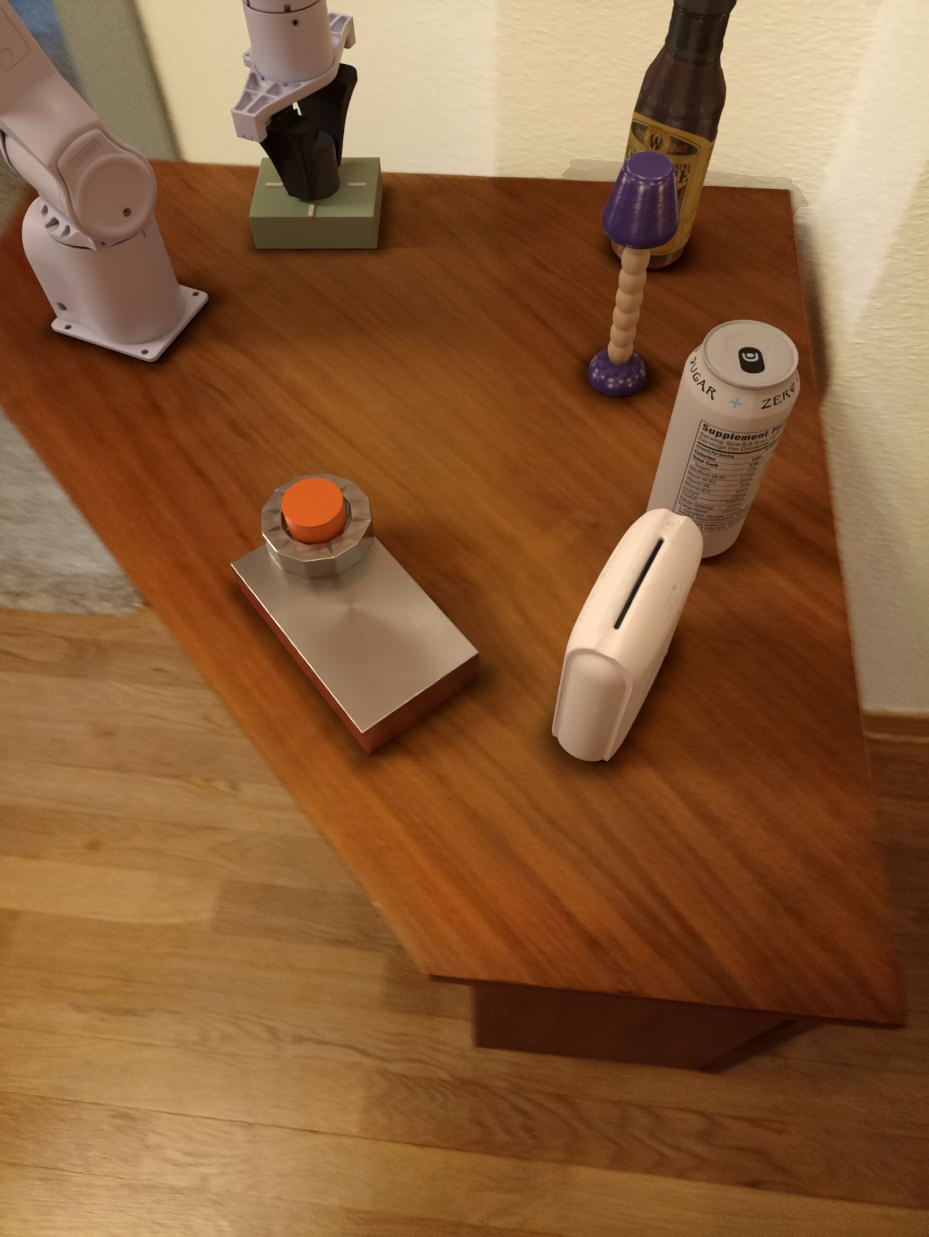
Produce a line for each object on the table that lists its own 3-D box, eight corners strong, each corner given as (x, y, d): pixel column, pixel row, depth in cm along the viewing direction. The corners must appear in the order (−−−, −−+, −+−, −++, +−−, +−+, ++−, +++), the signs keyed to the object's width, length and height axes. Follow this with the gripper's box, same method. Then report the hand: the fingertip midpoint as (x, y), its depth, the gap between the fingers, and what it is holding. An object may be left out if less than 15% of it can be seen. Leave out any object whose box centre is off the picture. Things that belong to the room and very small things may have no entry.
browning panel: (256, 249, 73) (247, 215, 70) (269, 189, 77) (261, 154, 74) (376, 249, 73) (373, 215, 70) (383, 189, 77) (379, 154, 74)
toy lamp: (641, 406, 63) (688, 191, 49) (576, 397, 64) (605, 182, 50) (647, 360, 66) (694, 141, 51) (585, 351, 66) (614, 133, 52)
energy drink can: (729, 492, 59) (798, 311, 46) (742, 566, 56) (821, 395, 43) (639, 492, 59) (683, 311, 46) (648, 566, 56) (698, 395, 43)
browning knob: (337, 200, 71) (330, 155, 68) (288, 200, 71) (279, 154, 68) (342, 170, 73) (336, 125, 70) (294, 170, 73) (286, 125, 70)
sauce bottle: (594, 256, 72) (631, -20, 55) (632, 216, 74) (678, -60, 57) (666, 286, 70) (727, 9, 53) (702, 243, 73) (771, -33, 55)
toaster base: (228, 574, 56) (207, 527, 52) (342, 506, 59) (331, 456, 55) (368, 755, 50) (357, 719, 46) (488, 670, 53) (489, 628, 48)
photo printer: (612, 606, 55) (644, 477, 44) (677, 634, 54) (726, 509, 43) (539, 742, 50) (555, 635, 40) (609, 776, 49) (644, 675, 39)
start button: (275, 515, 53) (269, 497, 52) (325, 486, 54) (321, 467, 53) (307, 554, 52) (302, 536, 50) (358, 523, 53) (355, 505, 51)
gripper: (285, -64, 64) (315, 121, 76) (174, 32, 58) (225, 219, 69) (371, -47, 63) (388, 140, 75) (267, 54, 56) (304, 241, 68)
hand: (314, 179), depth 72 cm, fingers closed on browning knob, 4 cm apart
